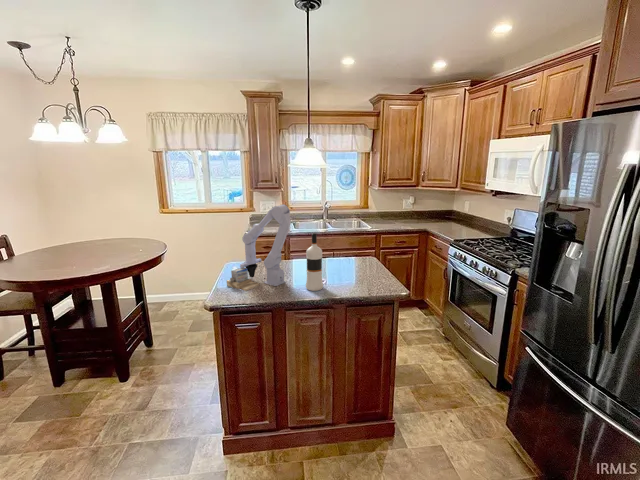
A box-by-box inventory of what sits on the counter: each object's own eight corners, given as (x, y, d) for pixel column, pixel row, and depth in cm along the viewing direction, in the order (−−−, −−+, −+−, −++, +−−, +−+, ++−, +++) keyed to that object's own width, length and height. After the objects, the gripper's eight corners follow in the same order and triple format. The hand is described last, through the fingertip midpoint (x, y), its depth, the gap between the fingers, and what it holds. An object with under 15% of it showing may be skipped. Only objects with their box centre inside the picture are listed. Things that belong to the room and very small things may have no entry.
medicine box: (237, 287, 173) (236, 271, 171) (231, 285, 176) (230, 270, 174) (248, 282, 180) (247, 268, 178) (243, 281, 182) (242, 266, 180)
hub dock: (259, 285, 176) (259, 276, 175) (244, 291, 167) (243, 282, 166) (241, 280, 184) (241, 271, 183) (226, 286, 175) (225, 277, 174)
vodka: (313, 292, 165) (313, 236, 159) (302, 288, 172) (301, 233, 165) (326, 288, 172) (326, 233, 165) (315, 283, 178) (314, 230, 171)
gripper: (254, 250, 189) (256, 272, 192) (235, 255, 178) (237, 279, 181) (263, 252, 186) (264, 274, 189) (244, 257, 174) (246, 281, 177)
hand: (251, 276), depth 184 cm, fingers closed
